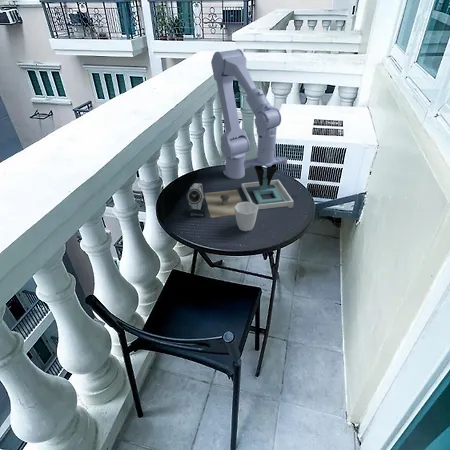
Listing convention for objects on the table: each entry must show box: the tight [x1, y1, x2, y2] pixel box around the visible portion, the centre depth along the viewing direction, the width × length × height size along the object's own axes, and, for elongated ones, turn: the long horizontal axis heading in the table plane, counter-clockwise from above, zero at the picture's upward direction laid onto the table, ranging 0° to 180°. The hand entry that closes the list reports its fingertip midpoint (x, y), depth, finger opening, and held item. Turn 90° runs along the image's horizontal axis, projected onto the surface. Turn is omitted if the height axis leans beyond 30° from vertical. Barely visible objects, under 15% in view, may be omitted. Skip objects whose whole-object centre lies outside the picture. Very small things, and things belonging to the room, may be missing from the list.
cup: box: [234, 200, 259, 232], centre depth 99 cm, size 7×10×8 cm
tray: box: [241, 179, 295, 211], centre depth 115 cm, size 16×14×2 cm
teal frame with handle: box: [252, 176, 284, 205], centre depth 113 cm, size 10×8×5 cm
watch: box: [186, 183, 209, 218], centre depth 104 cm, size 6×8×11 cm
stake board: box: [203, 189, 243, 218], centre depth 111 cm, size 16×12×4 cm
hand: (264, 184), depth 116 cm, fingers closed on teal frame with handle
